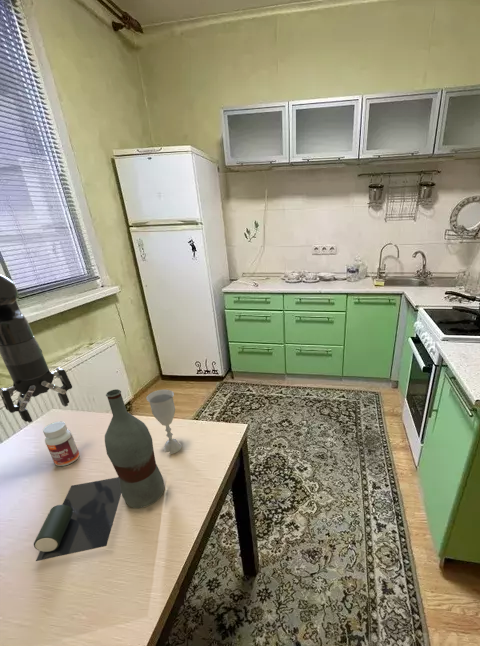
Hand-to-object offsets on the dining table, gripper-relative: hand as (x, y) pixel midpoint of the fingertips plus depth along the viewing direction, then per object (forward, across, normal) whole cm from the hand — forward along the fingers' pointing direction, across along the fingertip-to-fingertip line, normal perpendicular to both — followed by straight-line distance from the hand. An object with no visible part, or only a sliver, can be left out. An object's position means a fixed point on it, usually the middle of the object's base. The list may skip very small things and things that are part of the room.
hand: (48, 413), depth 85 cm
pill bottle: (+16, 0, 0) cm, 16 cm away
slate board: (+16, +7, +25) cm, 30 cm away
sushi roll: (+14, +13, +26) cm, 32 cm away
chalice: (+16, -19, +22) cm, 33 cm away
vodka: (+16, -4, +32) cm, 36 cm away
